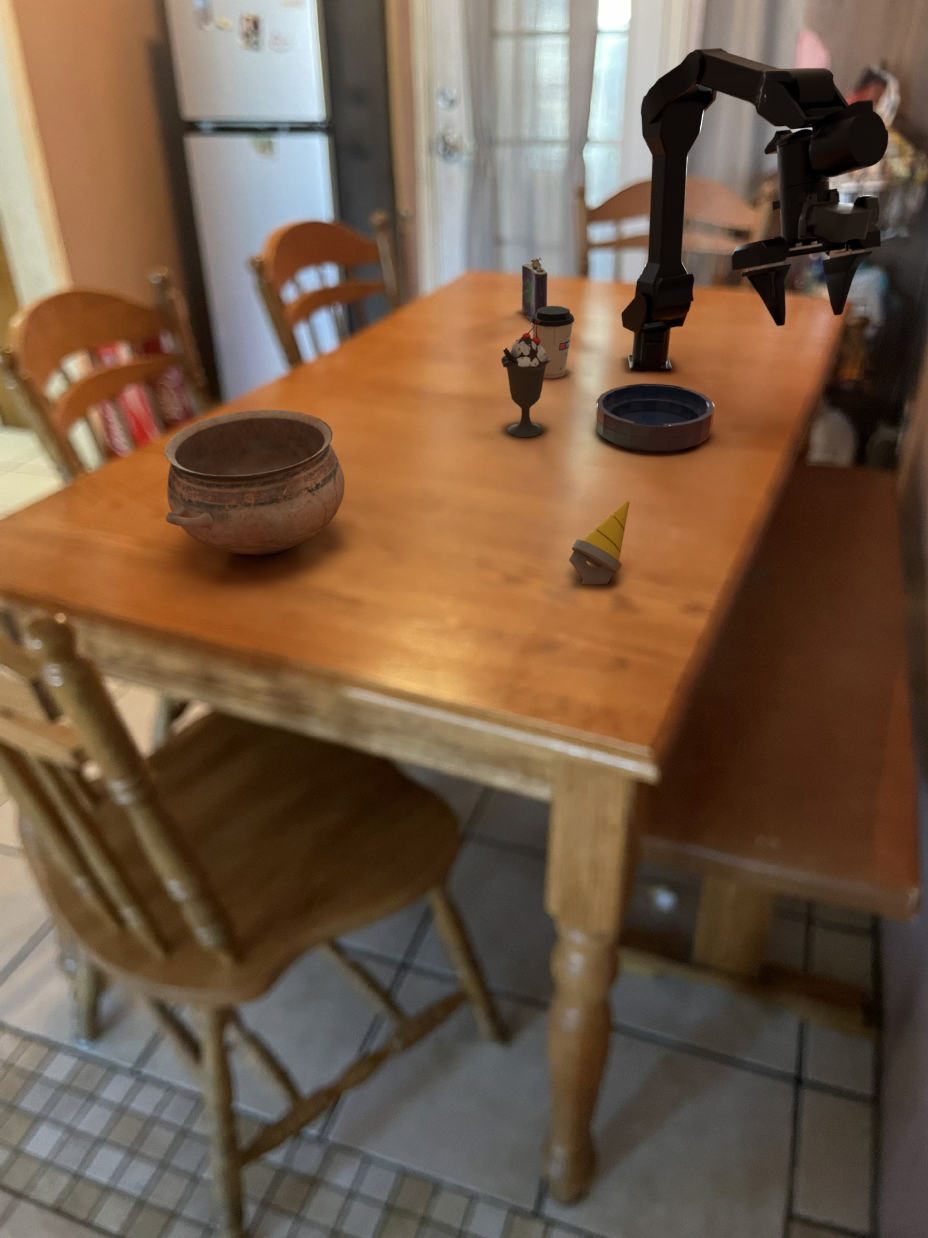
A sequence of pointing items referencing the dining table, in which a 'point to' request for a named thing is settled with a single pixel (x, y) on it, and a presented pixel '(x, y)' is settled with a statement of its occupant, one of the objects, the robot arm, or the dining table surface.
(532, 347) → the sundae
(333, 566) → the dining table surface
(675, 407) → the bowl
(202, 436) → the cooking pot
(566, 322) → the coffee cup
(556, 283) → the dining table surface
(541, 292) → the flask
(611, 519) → the drill bit
